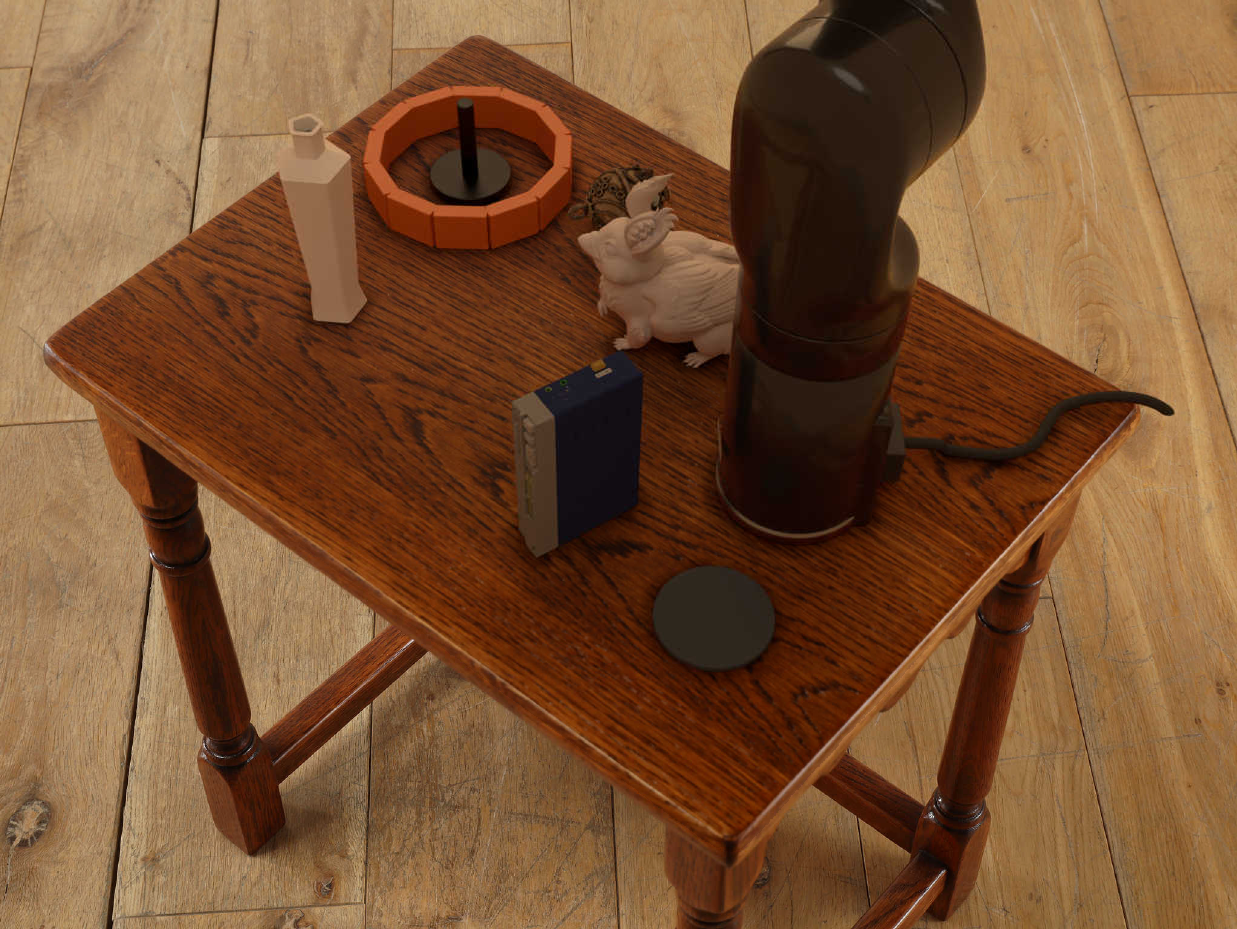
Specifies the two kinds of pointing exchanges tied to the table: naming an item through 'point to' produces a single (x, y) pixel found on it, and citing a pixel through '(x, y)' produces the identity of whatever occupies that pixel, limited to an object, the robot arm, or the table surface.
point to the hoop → (468, 222)
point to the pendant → (615, 195)
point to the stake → (469, 167)
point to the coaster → (713, 618)
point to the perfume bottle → (323, 218)
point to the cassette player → (578, 451)
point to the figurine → (664, 278)
